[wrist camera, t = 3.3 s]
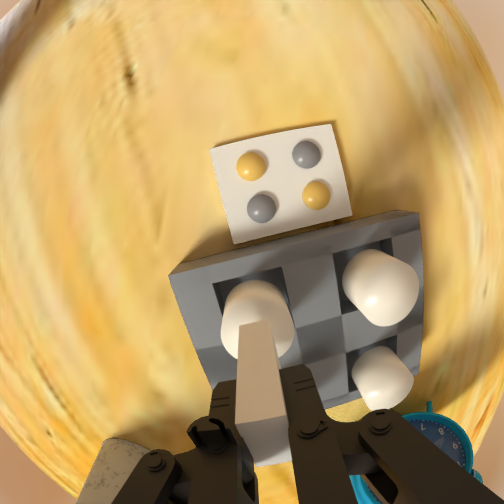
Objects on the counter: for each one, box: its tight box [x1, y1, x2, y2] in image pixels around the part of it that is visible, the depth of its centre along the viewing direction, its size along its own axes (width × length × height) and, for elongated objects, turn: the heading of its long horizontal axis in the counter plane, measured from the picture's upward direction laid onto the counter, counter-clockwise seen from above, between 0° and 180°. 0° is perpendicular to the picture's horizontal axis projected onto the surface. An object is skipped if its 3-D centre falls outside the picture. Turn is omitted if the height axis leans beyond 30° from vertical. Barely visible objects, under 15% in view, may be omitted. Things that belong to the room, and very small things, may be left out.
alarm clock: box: [349, 401, 483, 504], centre depth 16 cm, size 17×10×20 cm, turn 95°
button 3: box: [352, 346, 414, 411], centre depth 17 cm, size 4×4×4 cm
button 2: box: [342, 249, 419, 326], centre depth 16 cm, size 4×4×4 cm
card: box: [209, 124, 353, 244], centre depth 19 cm, size 7×9×1 cm
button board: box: [168, 210, 424, 409], centre depth 20 cm, size 15×18×3 cm
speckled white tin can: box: [76, 439, 150, 504], centre depth 20 cm, size 10×10×12 cm
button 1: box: [221, 280, 295, 359], centre depth 16 cm, size 4×4×4 cm
